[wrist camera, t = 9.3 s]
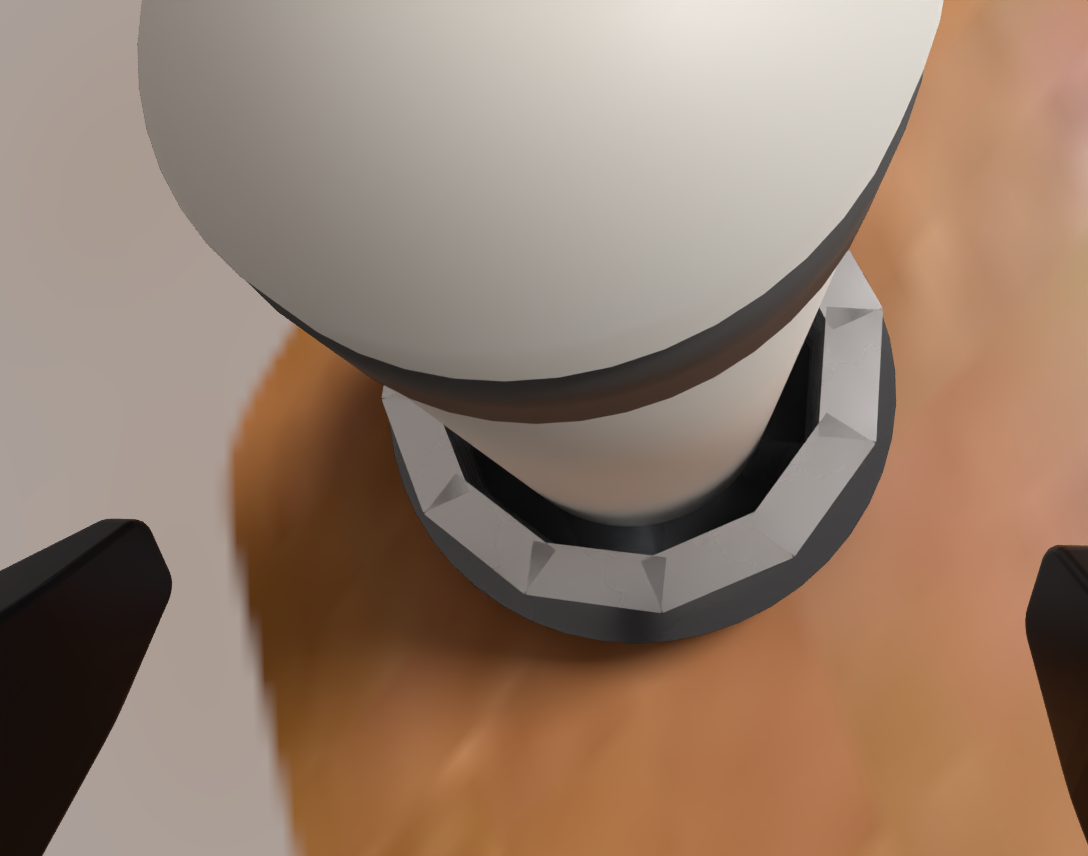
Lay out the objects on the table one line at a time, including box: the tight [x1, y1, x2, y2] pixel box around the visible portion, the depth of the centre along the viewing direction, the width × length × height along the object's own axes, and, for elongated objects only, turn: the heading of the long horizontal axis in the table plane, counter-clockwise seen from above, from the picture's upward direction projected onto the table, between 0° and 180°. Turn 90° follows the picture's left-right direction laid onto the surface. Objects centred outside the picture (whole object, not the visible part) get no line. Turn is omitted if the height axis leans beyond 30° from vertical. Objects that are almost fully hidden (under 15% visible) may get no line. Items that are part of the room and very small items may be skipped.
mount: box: [382, 250, 896, 643], centre depth 17 cm, size 11×11×4 cm
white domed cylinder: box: [137, 0, 943, 527], centre depth 12 cm, size 6×6×12 cm
